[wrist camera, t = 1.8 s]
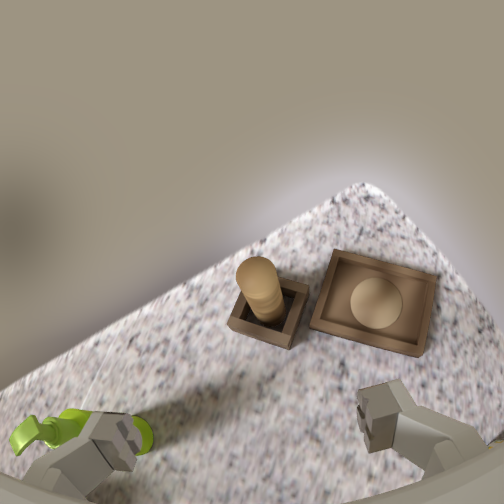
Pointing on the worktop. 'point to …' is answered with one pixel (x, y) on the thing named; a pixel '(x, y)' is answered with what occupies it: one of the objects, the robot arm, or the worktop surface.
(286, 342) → the socket
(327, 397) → the worktop surface
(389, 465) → the worktop surface
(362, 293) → the tray
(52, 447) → the soap dispenser
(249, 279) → the dowel
